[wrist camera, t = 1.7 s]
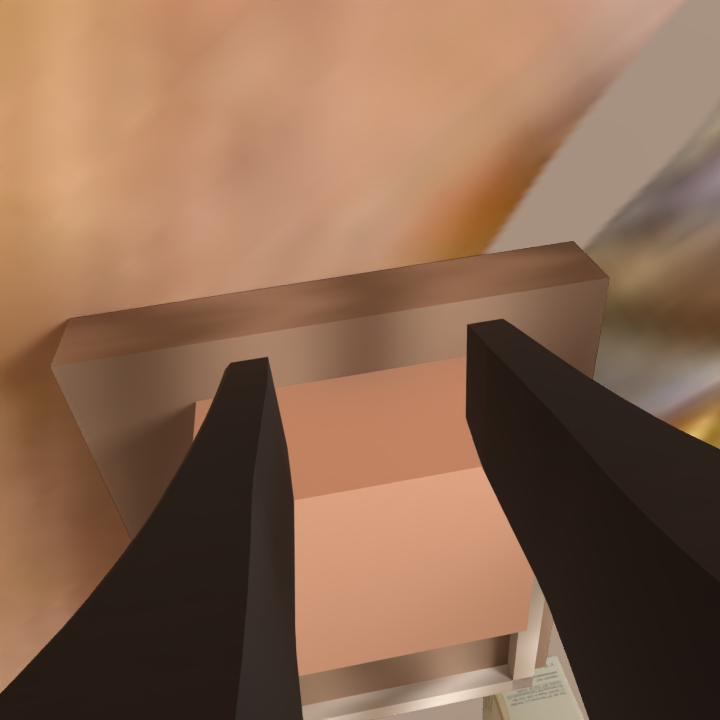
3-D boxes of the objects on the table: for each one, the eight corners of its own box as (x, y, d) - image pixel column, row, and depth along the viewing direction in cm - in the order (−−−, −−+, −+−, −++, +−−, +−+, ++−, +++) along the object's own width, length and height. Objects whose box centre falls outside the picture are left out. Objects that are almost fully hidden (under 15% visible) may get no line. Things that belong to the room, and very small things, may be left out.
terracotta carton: (491, 352, 20) (548, 454, 16) (483, 521, 24) (526, 630, 21) (196, 401, 19) (186, 519, 15) (247, 566, 24) (250, 686, 20)
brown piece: (573, 241, 21) (622, 291, 18) (526, 621, 34) (551, 682, 31) (69, 318, 19) (43, 384, 17) (223, 681, 33) (222, 750, 30)
